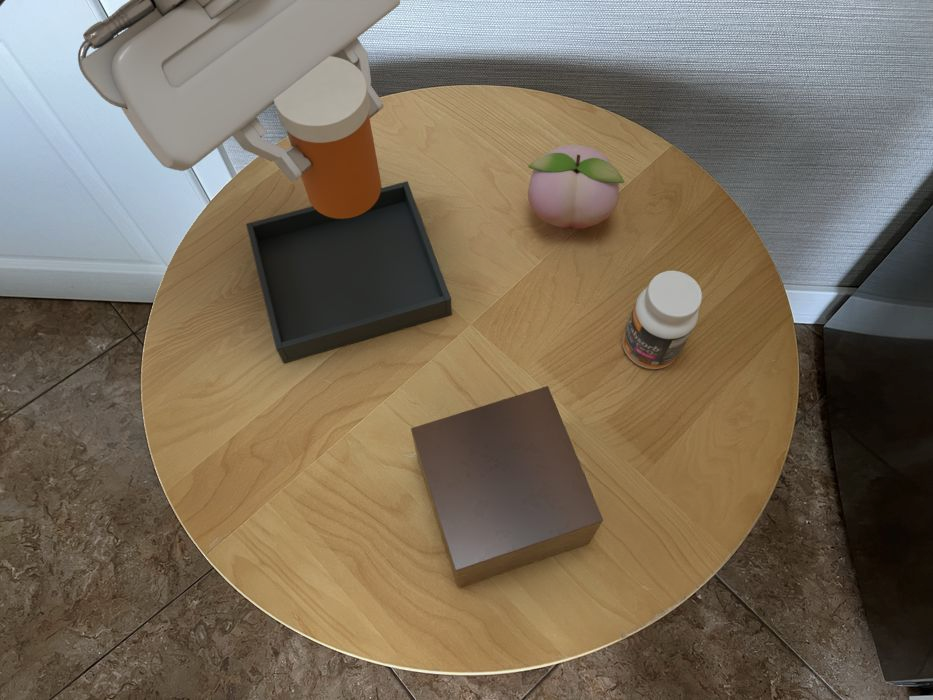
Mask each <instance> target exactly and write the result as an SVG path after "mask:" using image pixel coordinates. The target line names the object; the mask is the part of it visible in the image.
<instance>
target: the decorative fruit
mask: <svg viewBox="0 0 933 700" xmlns="http://www.w3.org/2000/svg"><path fill="white" fill-rule="evenodd" d="M527 168H528V169H531V170H532V172H531V176H530V178H529V183H528V188H527V189H528V190H527V200H528V203H529V207H530V209H531V210H532V212H533V213H534V214H535V215H536V216H537V217H538V218H539V219H540V220H542V221H543V222H546V223H547V224H549V225H551V226H554V227H557V228H568V227H569V228H570V227H571V228H574V229H585V228H589V227H592V226H595V225H598V224H600V223H601V222H603V221H605V220H607V219H608V218H609V217H610V216H611V215H612V214H613V213H614V211H615V210H616V208H617V206H618V203H619V197H620V184H624V183H625V180H624V177H623V176H622V174H621V172H619V170H618V169H617V168H616V167H615V166H613V164H612V163H611V161H610V159H609V158H608V157H607V156H606V155H605V154H604V153H602V152H601V151H600V150H598V149H596V148H594V147H591V146H586V145H583V144H582V145H581V144H565V145H560V146H558V147H554V148H552V149H551V150H549V151H548V152H546V153H545V154H544V155H542V156H540V157H538V158H536V159H535V160H534V161H532V162H531V163H530V164H529V165H528V166H527Z"/></svg>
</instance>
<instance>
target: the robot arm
mask: <svg viewBox="0 0 933 700" xmlns="http://www.w3.org/2000/svg"><path fill="white" fill-rule="evenodd" d="M5 1H6V0H0V7H1V6H2V5H3V4H4V3H5ZM400 4H401V0H129V1H127V2H125V3H124V4H122V5H121V6H119V8H118V9H116V11H114V12H113V13H112V14H110V16H108V17H107V18H105V19H103V20H102V21H101V20H100V21H97V22H96V23H94V24H93V25H91V26H89V28H87V29H86V30H85V31H84V33H83V34H82V37H83V39H84V41H82V43H81V44H80V46H79V49H78V52H77V62H78V63H77V64H78V67H79V70H80V72H81V75H83V77H84V79H85V80H86V81H87V82H88V83H89V84H90V85H91V87H92V88H93V89H94V90H95V92H96V93H97V94H98V95H99V96H100V97H101V98H102V99H103V100H104V101H106V102H107V103H109V104H111V105H113V106H115V107H117V108H121V110H122V111H123V113H124V115H125V116H126V118H127V120H128V121H129V123H130V125H131V126H132V127H133V129H134V131H135V132H136V133H137V135H138V136H139V138H140V139H141V140H142V142H143V144H144V145H145V146H146V147H147V148H148V150H149V151H150V152H151V154H152V155H153V156H154V158H155V159H156V160H157V161H158V162H159V163H160V164H161V166H163V167H164V168H167V169H170V170H173V171H180V172H185V171H187V170H190V169H191V168H193V167H195V166H196V165H197V164H198V163H200V162H201V161H202V160H203V159H205V158H206V157H207V156H208V155H210V154H211V153H212V152H213V151H215V150H216V149H217V148H219V147H220V146H221V145H223V144H224V143H225V142H226V141H228V140H229V139H231V137H233V139H234V140H235V141H236V142H237V144H238V145H239V146H240V147H241V148H242V149H243V150H244V151H247V152H248V153H251V154H253V155H256V156H258V157H261V158H263V159H265V160H267V161H269V162H273V163H274V164H275V165H276V166H277V168H278V169H279V170H280V172H281V173H282V174H283V175H284V176H285V178H286V179H287V180H289V181H290V182H294V181H298V180H299V179H300V178H302V177H301V176H302V175H303V174H305V173H306V172H307V171H308V170H309V169H310V168H311V167H312V164H311V162H310V160H309V159H308V158H306V157H304V153H303V152H302V151H301V150H300V148H299V147H298V146H297V145H295V146H293V147H292V146H290V147H288V148H287V149H285V148H283V147H281V146H279V145H277V144H274V143H273V142H271V141H269V140H266V139H264V138H262V137H264V136H265V135H266V134H267V132H268V131H267V129H266V128H265V126H264V125H263V124H262V122H261V121H260V120H259V118H258V116H260V115H261V114H262V113H264V111H266V110H267V109H269V107H271V106H272V105H274V99H275V98H276V97H278V96H279V95H280V94H281V93H283V92H284V91H285V90H287V89H288V88H289V87H290V86H292V85H293V84H294V83H296V82H297V81H298V80H299V79H301V78H302V77H303V76H305V75H306V74H307V73H308V72H310V71H311V70H312V69H313V68H315V67H316V66H317V65H319V64H320V63H321V62H322V61H324V60H325V59H326V58H328V57H329V56H332V57H337V58H341V59H344V60H346V61H349V62H350V63H352V64H354V65H355V66H356V67H357V68H358V69H359V70H360V71H361V72H362V74H363V75H364V77H365V80H366V84H367V89H368V95H369V101H370V108H369V118H370V119H371V118H372V117H373V116H375V115H376V114H377V113H379V112H380V111H381V110H382V109H384V103H383V101H382V100H381V98H380V96H379V95H378V93H377V91H375V89H374V88H373V86H372V85H371V84H372V78H371V77H372V76H371V70H370V69H371V68H370V61H369V53H368V52H367V50H366V49H365V47H364V46H363V44H362V43H361V41H360V40H359V37H360V36H362V35H363V34H364V33H366V32H367V31H368V30H369V29H371V28H372V27H373V26H374V25H376V24H377V23H379V21H381V20H382V19H383V18H385V17H387V16H388V15H389V14H390V13H391V12H393V11H394V10H395V9H396V8H397V7H399V6H400ZM90 48H91V49H94V51H92V52H91V53H89V54H88V51H89V49H90ZM87 54H88V55H87Z"/></svg>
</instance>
